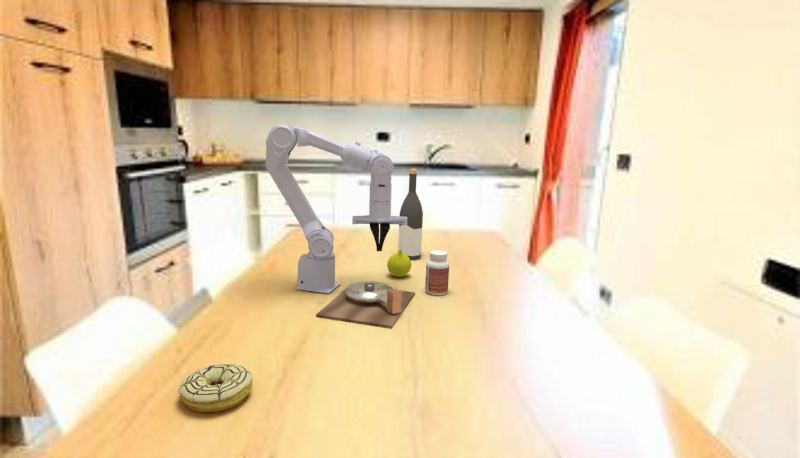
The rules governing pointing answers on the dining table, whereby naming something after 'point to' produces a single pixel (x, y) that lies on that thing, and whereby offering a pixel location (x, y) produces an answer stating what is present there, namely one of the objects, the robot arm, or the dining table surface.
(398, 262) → the yellow round fruit
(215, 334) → the dining table surface
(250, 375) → the decorated donut
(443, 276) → the pill bottle
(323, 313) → the board
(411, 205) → the wine bottle
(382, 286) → the metal lid
